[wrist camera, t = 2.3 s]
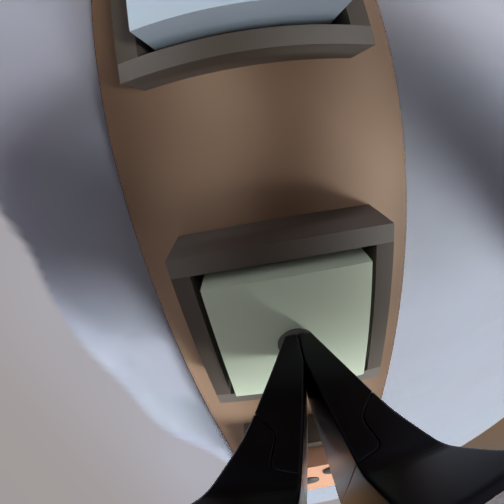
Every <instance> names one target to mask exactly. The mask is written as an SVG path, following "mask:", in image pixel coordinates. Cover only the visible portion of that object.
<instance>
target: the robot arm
mask: <svg viewBox="0 0 504 504" xmlns="http://www.w3.org/2000/svg"><path fill="white" fill-rule="evenodd" d="M307 397H308V400H309V404H310V407H311V410H312V413H313V416H314V419H315V423H316V426H317V429H318V432H319V435H320V438H321V442H322V445H323V448H324V451H325V454H326V458H327V461H328V464H329V467H330V470H331V474H332V477H333V480H334V483H335V487H336V490H337V493H338V496H339V499H340V503H341V504H504V450H488V449H475V448H466V447H457V446H451V445H447V444H444V443H442V442H440V441H438V440H436V439H434V438H433V437H431V436H430V435H428V434H427V433H425V432H424V431H422V430H421V429H419V428H418V427H416V426H415V425H414V424H412V423H411V422H409V421H408V420H406V419H405V418H403V417H402V416H401V415H399V414H398V413H397V412H395V411H394V410H393V409H392V408H390V407H389V406H388V405H387V404H386V403H385V402H384V401H382V400H381V399H380V398H379V397H378V396H377V395H376V394H375V393H374V392H373V393H372V390H371V389H370V388H368V387H367V386H366V385H365V384H364V383H363V382H362V381H361V380H360V379H359V378H358V377H357V376H356V375H355V374H354V373H353V372H352V371H351V370H350V369H349V368H348V367H346V366H345V365H344V364H343V363H342V362H341V361H340V360H339V359H338V358H337V357H336V356H335V355H334V354H333V353H332V352H331V351H330V350H329V349H328V348H327V347H326V346H325V345H324V344H323V343H322V342H321V341H320V340H319V339H317V338H316V337H315V336H314V335H313V334H312V333H311V332H306V333H300V334H299V335H296V334H294V335H289V336H285V337H284V340H283V342H282V345H281V348H280V351H279V353H278V356H277V358H276V361H275V364H274V366H273V369H272V372H271V374H270V377H269V379H268V382H267V384H266V387H265V389H264V392H263V394H262V397H261V399H260V402H259V404H258V406H257V409H256V411H255V415H254V416H253V418H252V420H251V423H250V425H249V427H248V429H247V431H246V433H245V436H244V438H243V439H242V441H241V443H240V445H239V446H238V448H237V450H236V451H235V453H234V454H233V456H232V457H231V459H230V460H229V462H228V463H227V465H226V466H225V468H224V470H223V471H222V472H221V474H220V475H219V477H218V478H217V480H216V481H215V483H214V484H213V485H212V486H211V488H210V489H209V490H208V491H207V492H206V493H205V494H204V495H203V496H202V497H200V498H199V499H198V500H196V501H195V502H193V503H192V504H307V471H308V419H307Z"/></svg>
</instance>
